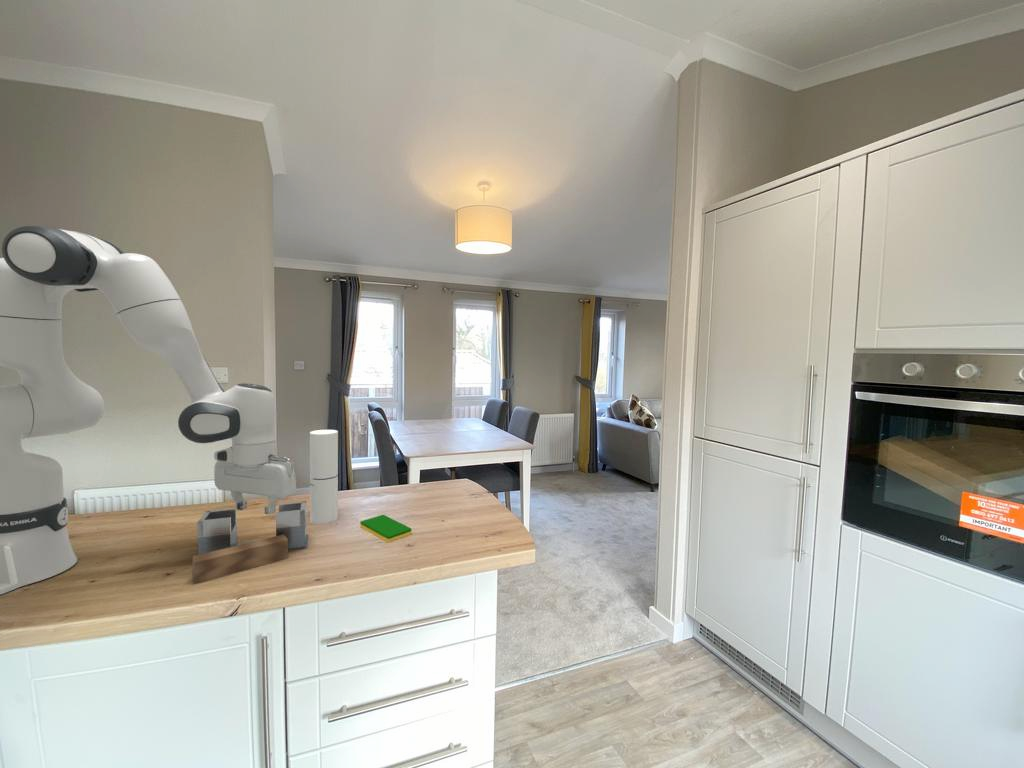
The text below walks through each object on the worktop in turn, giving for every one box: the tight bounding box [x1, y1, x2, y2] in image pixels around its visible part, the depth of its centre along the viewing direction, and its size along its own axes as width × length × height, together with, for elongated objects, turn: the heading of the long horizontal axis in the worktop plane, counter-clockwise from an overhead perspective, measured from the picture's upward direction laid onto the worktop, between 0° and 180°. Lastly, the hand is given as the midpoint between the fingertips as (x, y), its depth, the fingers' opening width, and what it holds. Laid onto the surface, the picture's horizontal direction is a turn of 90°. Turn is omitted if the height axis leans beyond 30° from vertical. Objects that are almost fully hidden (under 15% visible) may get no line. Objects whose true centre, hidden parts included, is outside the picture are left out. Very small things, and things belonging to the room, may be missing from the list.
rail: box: [191, 534, 289, 585], centre depth 91 cm, size 17×3×5 cm, turn 132°
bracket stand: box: [196, 500, 310, 555], centre depth 99 cm, size 22×7×10 cm, turn 113°
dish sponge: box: [359, 514, 412, 543], centre depth 112 cm, size 7×14×2 cm, turn 48°
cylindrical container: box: [309, 429, 339, 525], centre depth 118 cm, size 7×7×25 cm
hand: (255, 511), depth 99 cm, fingers open, 7 cm apart
